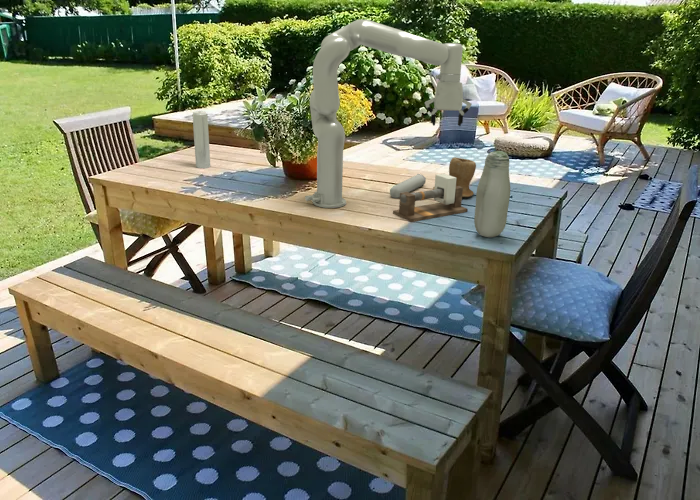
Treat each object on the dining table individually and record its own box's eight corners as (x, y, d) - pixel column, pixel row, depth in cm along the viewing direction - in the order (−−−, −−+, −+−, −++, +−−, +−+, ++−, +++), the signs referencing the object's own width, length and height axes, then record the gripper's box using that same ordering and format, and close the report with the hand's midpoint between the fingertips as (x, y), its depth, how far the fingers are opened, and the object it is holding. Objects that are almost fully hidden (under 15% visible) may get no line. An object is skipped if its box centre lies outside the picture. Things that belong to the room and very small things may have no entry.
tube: (401, 190, 236) (427, 177, 256) (389, 184, 238) (417, 171, 258) (396, 202, 239) (423, 188, 259) (385, 196, 241) (412, 182, 261)
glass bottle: (494, 243, 194) (505, 156, 184) (467, 235, 200) (475, 151, 190) (509, 236, 201) (520, 151, 191) (482, 228, 207) (491, 147, 197)
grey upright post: (208, 168, 278) (205, 112, 269) (194, 168, 278) (190, 112, 269) (211, 165, 284) (208, 110, 275) (197, 164, 284) (194, 110, 275)
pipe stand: (411, 222, 212) (412, 198, 209) (392, 213, 221) (393, 190, 218) (467, 211, 225) (469, 189, 222) (447, 204, 234) (449, 182, 231)
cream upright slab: (445, 204, 221) (448, 179, 217) (433, 199, 226) (435, 174, 223) (454, 203, 223) (456, 177, 219) (441, 198, 228) (443, 173, 225)
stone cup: (478, 194, 248) (482, 158, 242) (466, 201, 239) (469, 163, 233) (444, 188, 256) (447, 152, 250) (431, 194, 247) (434, 157, 241)
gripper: (427, 79, 221) (424, 126, 227) (475, 80, 221) (470, 127, 227) (425, 77, 228) (422, 123, 234) (471, 78, 228) (467, 124, 234)
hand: (446, 125), depth 231 cm, fingers open, 9 cm apart
